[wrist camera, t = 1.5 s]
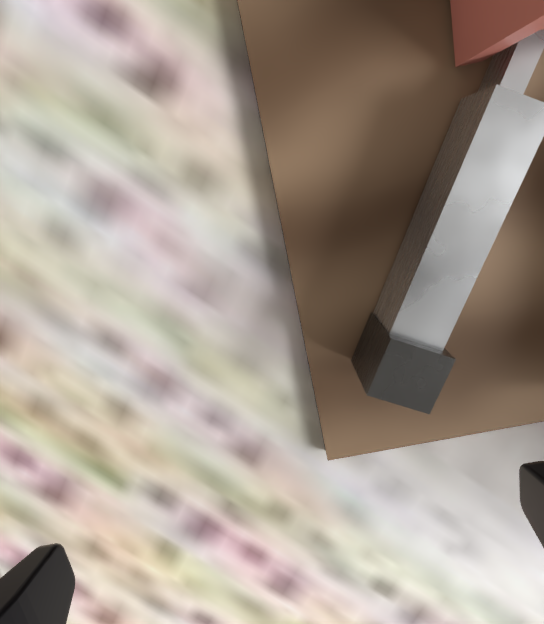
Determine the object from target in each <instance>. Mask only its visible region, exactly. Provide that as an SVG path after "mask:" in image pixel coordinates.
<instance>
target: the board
mask: <svg viewBox="0 0 544 624" xmlns="http://www.w3.org/2000/svg"><path fill="white" fill-rule="evenodd" d="M237 1H238V6H239V11H240V17H241V22H242V27H243V32H244V37H245V42H246V47H247V52H248V57H249V62H250V67H251V73H252V78H253V83H254V88H255V93H256V98H257V103H258V108H259V113H260V118H261V123H262V129H263V134H264V139H265V144H266V149H267V154H268V159H269V164H270V169H271V174H272V179H273V184H274V190H275V195H276V200H277V205H278V210H279V215H280V220H281V225H282V230H283V235H284V240H285V246H286V251H287V256H288V261H289V266H290V271H291V276H292V281H293V286H294V291H295V296H296V301H297V307H298V312H299V317H300V322H301V327H302V332H303V337H304V342H305V347H306V352H307V357H308V363H309V368H310V373H311V378H312V383H313V388H314V393H315V398H316V403H317V408H318V413H319V418H320V424H321V429H322V434H323V439H324V444H325V449H326V454H327V459H328V460H333V459H339V458H344V457H350V456H355V455H361V454H366V453H372V452H377V451H383V450H388V449H394V448H399V447H405V446H410V445H416V444H421V443H427V442H432V441H438V440H443V439H449V438H454V437H460V436H465V435H471V434H476V433H482V432H487V431H493V430H498V429H504V428H510V427H515V426H521V425H526V424H532V423H537V422H543V421H544V137H543V139H542V141H541V143H540V145H539V147H538V149H537V151H536V154H535V156H534V158H533V160H532V162H531V164H530V166H529V168H528V171H527V173H526V175H525V177H524V179H523V181H522V183H521V185H520V188H519V190H518V192H517V194H516V196H515V198H514V200H513V202H512V205H511V207H510V209H509V211H508V213H507V215H506V217H505V220H504V222H503V224H502V226H501V228H500V230H499V232H498V234H497V237H496V239H495V241H494V243H493V245H492V247H491V249H490V251H489V254H488V256H487V258H486V260H485V262H484V264H483V266H482V268H481V271H480V273H479V275H478V277H477V279H476V281H475V283H474V286H473V288H472V290H471V292H470V294H469V296H468V298H467V300H466V303H465V305H464V307H463V309H462V311H461V313H460V315H459V317H458V320H457V322H456V324H455V326H454V328H453V330H452V332H451V334H450V337H449V339H448V341H447V343H446V345H445V347H444V348H445V349H446V350H447V351H448V352H449V353H450V354H451V355H452V356H453V357H454V358H455V359H456V361H455V363H454V365H453V367H452V369H451V371H450V373H449V375H448V377H447V379H446V381H445V384H444V386H443V388H442V390H441V392H440V394H439V396H438V398H437V400H436V402H435V404H434V406H433V408H432V411H431V413H430V414H426V413H423V412H420V411H416V410H413V409H410V408H407V407H403V406H400V405H397V404H393V403H390V402H387V401H384V400H380V399H377V398H374V397H370V396H367V395H366V393H365V391H364V388H363V386H362V384H361V382H360V380H359V377H358V375H357V373H356V371H355V369H354V366H353V364H352V362H351V359H352V356H353V354H354V352H355V349H356V347H357V344H358V342H359V339H360V337H361V335H362V332H363V330H364V327H365V325H366V322H367V320H368V318H369V315H370V313H371V312H372V313H373V311H374V309H375V306H376V304H377V302H378V299H379V297H380V294H381V292H382V289H383V287H384V285H385V282H386V280H387V277H388V275H389V272H390V270H391V268H392V265H393V263H394V260H395V258H396V255H397V253H398V251H399V248H400V246H401V243H402V241H403V239H404V236H405V234H406V231H407V229H408V226H409V224H410V222H411V219H412V217H413V214H414V212H415V209H416V207H417V205H418V202H419V200H420V197H421V195H422V192H423V190H424V188H425V185H426V183H427V180H428V178H429V175H430V173H431V171H432V168H433V166H434V163H435V161H436V159H437V156H438V154H439V151H440V149H441V146H442V144H443V142H444V139H445V137H446V134H447V132H448V129H449V127H450V125H451V122H452V120H453V117H454V115H455V112H456V110H457V108H458V105H459V103H460V100H461V99H462V98H464V97H466V96H469V95H471V94H474V93H476V92H478V90H479V88H480V85H481V83H482V81H483V78H484V76H485V74H486V71H487V69H488V66H489V64H490V62H491V59H492V57H493V56H491V57H489V58H487V59H486V60H484V61H481V62H477V63H472V64H468V65H463V66H459V67H455V55H454V42H453V30H452V17H451V5H450V0H237ZM524 95H526V96H529V97H531V98H534V99H536V100H539V101H542V102H544V49H543V51H542V54H541V56H540V58H539V60H538V63H537V65H536V67H535V69H534V72H533V74H532V76H531V78H530V80H529V83H528V85H527V87H526V89H525V92H524Z"/></svg>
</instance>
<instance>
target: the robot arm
mask: <svg viewBox="0 0 544 624" xmlns="http://www.w3.org/2000/svg"><path fill="white" fill-rule="evenodd" d="M519 479H520V502H521V506H522V509H523V511H524V514H525V515H526V517H527V519H528V521H529V523H530V524H531V526H532V528H533V530H534V531H535V533H536V535H537V537H538V539H539V540H540V542H541V544H542V546H543V548H544V461H538V462H532V463H526V464H523V465H522V466H521V467H520V470H519ZM74 588H75V576H74V572H73V570H72V567H71V565H70V562H69V560H68V557H67V555H66V552H65V550H64V548H63V546H62V545H61V544H57V543H56V544H50V545H44V546H40V547H38V548H36V549H35V550H34V551H32V552H31V553H30V554H29V555H28V556H27V557H25V558H24V559H23V560H22V561H21V562H19V563H18V564H17V565H16V566H15V567H13V568H12V569H11V570H10V571H9V572H7V573H6V574H5V575H4V576H3V577H1V578H0V624H66V621H67V617H68V613H69V609H70V605H71V601H72V597H73V593H74Z"/></svg>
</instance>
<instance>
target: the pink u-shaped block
mask: <svg viewBox="0 0 544 624" xmlns="http://www.w3.org/2000/svg"><path fill="white" fill-rule="evenodd" d="M450 5H451V17H452V30H453V42H454V55H455V67H459V66H463V65H468V64H472V63H477V62H481V61H484V60H486V59H487V58H489V57H491V56H493V55H495V54H497V53H498V52H500V51H502V50H504V49H506V48H508V47H510V46H511V45H513V44H515V43H517V42H519V41H521V40H522V39H524V38H526V37H528V36H530V35H532V34H533V33H535V32H537V31H539V30H543V29H544V0H450Z"/></svg>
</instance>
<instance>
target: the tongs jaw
mask: <svg viewBox="0 0 544 624" xmlns="http://www.w3.org/2000/svg"><path fill="white" fill-rule="evenodd" d="M543 49H544V29H543V30H539V31H537V32H535V33H533V34H532V35H530V36H528V37H526V38H524V39H522V40H521V41H519V42H517V43H515V44H513V45H511V46H510V47H508V48H506V49H504V50H502V51H500V52H498V53H497V54H495V55H493V57H492V59H491V62H490V64H489V66H488V69H487V71H486V74H485V76H484V78H483V81H482V83H481V85H480V88H479V90H478V92H476V93H474V94H471V95H469V96H466V97H464V98H462V99H461V100H460V103H459V105H458V108H457V110H456V112H455V115H454V117H453V120H452V122H451V125H450V127H449V129H448V132H447V134H446V137H445V139H444V142H443V144H442V146H441V149H440V151H439V154H438V156H437V159H436V161H435V163H434V166H433V168H432V171H431V173H430V175H429V178H428V180H427V183H426V185H425V188H424V190H423V192H422V195H421V197H420V200H419V202H418V205H417V207H416V209H415V212H414V214H413V217H412V219H411V222H410V224H409V226H408V229H407V231H406V234H405V236H404V239H403V241H402V243H401V246H400V248H399V251H398V253H397V255H396V258H395V260H394V263H393V265H392V268H391V270H390V272H389V275H388V277H387V280H386V282H385V285H384V287H383V289H382V292H381V294H380V297H379V299H378V302H377V304H376V306H375V309H374V311H373V313H372V312H371V313H370V315H369V318H368V320H367V322H366V325H365V327H364V330H363V332H362V335H361V337H360V339H359V342H358V344H357V347H356V349H355V352H354V354H353V356H352V359H351V362H352V364H353V366H354V369H355V371H356V373H357V375H358V377H359V380H360V382H361V384H362V386H363V388H364V391H365V393H366V395H367V396H370V397H374V398H377V399H380V400H384V401H387V402H390V403H393V404H397V405H400V406H403V407H407V408H410V409H413V410H416V411H420V412H423V413H426V414H430V413H431V411H432V408H433V406H434V404H435V402H436V400H437V398H438V396H439V394H440V392H441V390H442V388H443V386H444V384H445V381H446V379H447V377H448V375H449V373H450V371H451V369H452V367H453V365H454V363H455V361H456V359H455V358H454V357H453V356H452V355H451V354H450V353H449V352H448V351H447V350H446V349H445V348H444V347H445V345H446V343H447V341H448V339H449V337H450V334H451V332H452V330H453V328H454V326H455V324H456V322H457V320H458V317H459V315H460V313H461V311H462V309H463V307H464V305H465V303H466V300H467V298H468V296H469V294H470V292H471V290H472V288H473V286H474V283H475V281H476V279H477V277H478V275H479V273H480V271H481V268H482V266H483V264H484V262H485V260H486V258H487V256H488V254H489V251H490V249H491V247H492V245H493V243H494V241H495V239H496V237H497V234H498V232H499V230H500V228H501V226H502V224H503V222H504V220H505V217H506V215H507V213H508V211H509V209H510V207H511V205H512V202H513V200H514V198H515V196H516V194H517V192H518V190H519V188H520V185H521V183H522V181H523V179H524V177H525V175H526V173H527V171H528V168H529V166H530V164H531V162H532V160H533V158H534V156H535V154H536V151H537V149H538V147H539V145H540V143H541V141H542V139H543V137H544V102H542V101H539V100H536V99H534V98H531V97H529V96H526V95H524V92H525V89H526V87H527V85H528V83H529V80H530V78H531V76H532V74H533V72H534V69H535V67H536V65H537V63H538V60H539V58H540V56H541V54H542V51H543Z"/></svg>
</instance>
